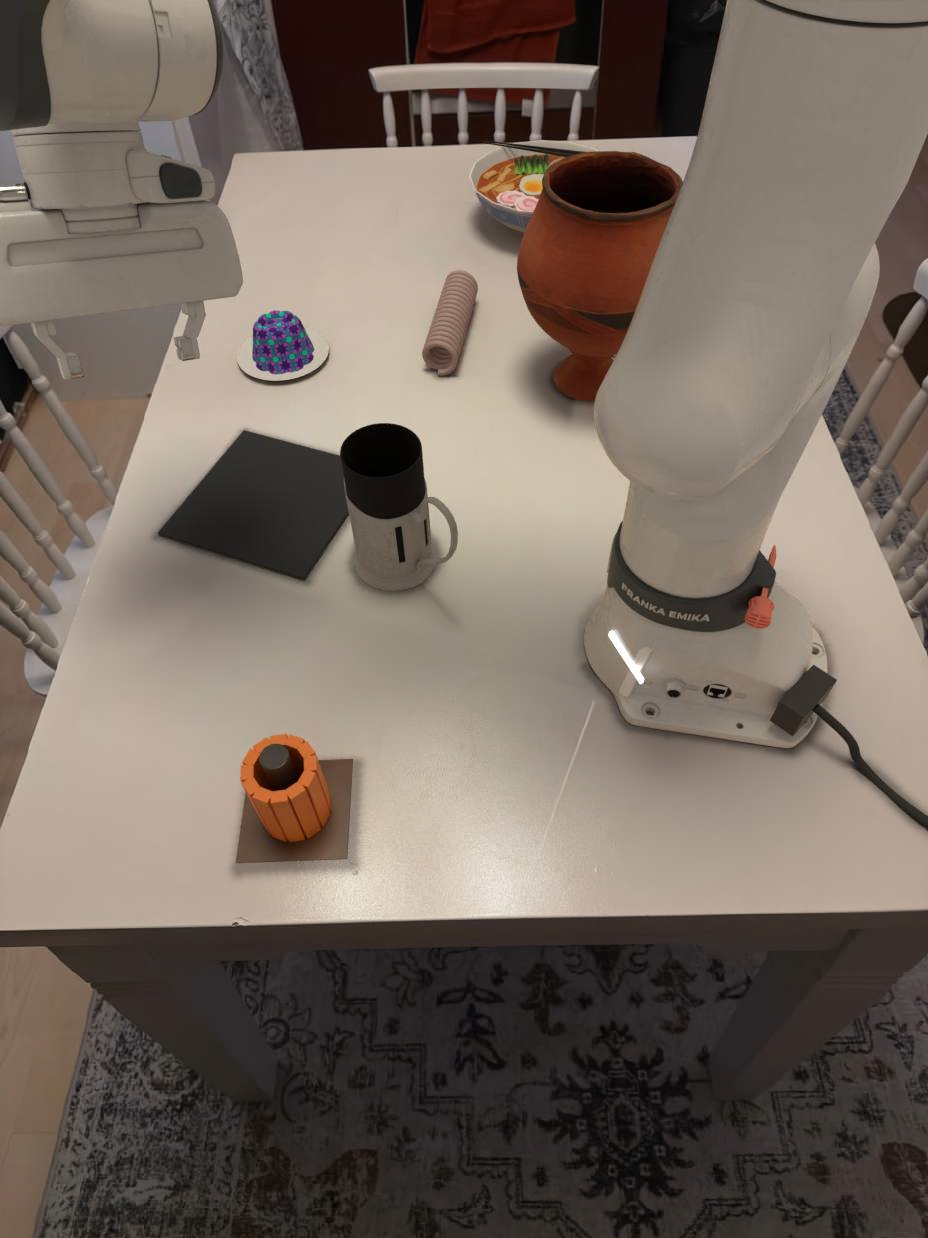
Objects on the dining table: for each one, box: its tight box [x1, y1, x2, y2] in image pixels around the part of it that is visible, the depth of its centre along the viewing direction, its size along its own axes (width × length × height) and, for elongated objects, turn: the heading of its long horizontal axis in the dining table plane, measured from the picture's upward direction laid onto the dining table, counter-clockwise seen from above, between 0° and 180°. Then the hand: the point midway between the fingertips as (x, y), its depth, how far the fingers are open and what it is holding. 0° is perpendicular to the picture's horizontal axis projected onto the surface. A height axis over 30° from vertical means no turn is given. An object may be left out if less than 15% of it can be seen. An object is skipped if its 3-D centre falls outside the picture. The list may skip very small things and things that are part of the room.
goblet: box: [516, 150, 684, 402], centre depth 95 cm, size 19×19×25 cm
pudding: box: [236, 310, 330, 382], centre depth 108 cm, size 12×12×5 cm
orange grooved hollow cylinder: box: [240, 733, 331, 842], centre depth 67 cm, size 6×6×8 cm
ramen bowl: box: [468, 139, 600, 234], centre depth 126 cm, size 25×23×8 cm
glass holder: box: [339, 422, 459, 592], centre depth 81 cm, size 9×14×15 cm, turn 43°
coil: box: [421, 269, 479, 377], centre depth 110 cm, size 5×5×18 cm
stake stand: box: [235, 744, 354, 864], centre depth 66 cm, size 9×9×10 cm
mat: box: [157, 429, 349, 582], centre depth 93 cm, size 18×18×1 cm
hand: (133, 367), depth 69 cm, fingers open, 8 cm apart
